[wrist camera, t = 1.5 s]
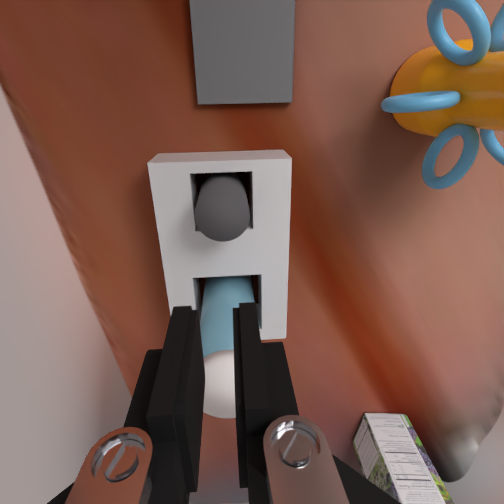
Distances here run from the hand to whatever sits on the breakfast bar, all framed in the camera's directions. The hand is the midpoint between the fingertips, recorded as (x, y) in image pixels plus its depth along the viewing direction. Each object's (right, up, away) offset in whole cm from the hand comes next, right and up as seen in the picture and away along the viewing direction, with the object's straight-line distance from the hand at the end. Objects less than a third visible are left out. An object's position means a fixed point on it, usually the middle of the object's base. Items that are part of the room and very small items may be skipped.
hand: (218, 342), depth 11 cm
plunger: (-1, +8, +16) cm, 18 cm away
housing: (-1, +4, +19) cm, 20 cm away
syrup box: (+17, -20, +32) cm, 41 cm away
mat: (0, +17, +13) cm, 22 cm away
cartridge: (-1, 0, +21) cm, 21 cm away
